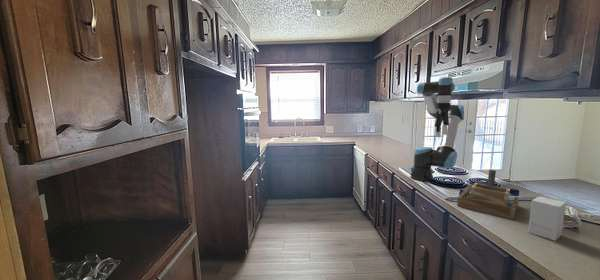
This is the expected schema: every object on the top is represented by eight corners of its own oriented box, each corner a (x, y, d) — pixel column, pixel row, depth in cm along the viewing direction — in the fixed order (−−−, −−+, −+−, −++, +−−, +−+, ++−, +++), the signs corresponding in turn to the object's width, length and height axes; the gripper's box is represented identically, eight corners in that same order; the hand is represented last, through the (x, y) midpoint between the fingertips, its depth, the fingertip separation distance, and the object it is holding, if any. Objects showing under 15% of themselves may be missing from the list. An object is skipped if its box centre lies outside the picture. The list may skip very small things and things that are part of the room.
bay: (466, 195, 156) (467, 186, 156) (517, 205, 140) (518, 196, 139) (457, 205, 141) (458, 196, 140) (513, 219, 124) (514, 208, 123)
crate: (474, 193, 153) (476, 166, 150) (508, 201, 142) (512, 171, 139) (470, 198, 145) (473, 169, 143) (506, 206, 134) (510, 175, 132)
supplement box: (562, 235, 110) (567, 202, 107) (555, 241, 105) (560, 207, 103) (534, 226, 117) (539, 195, 115) (527, 232, 112) (531, 199, 110)
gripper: (444, 102, 149) (441, 138, 153) (455, 102, 167) (453, 134, 170) (430, 102, 155) (428, 137, 158) (443, 102, 172) (440, 133, 176)
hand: (441, 136), depth 164 cm, fingers open, 13 cm apart
